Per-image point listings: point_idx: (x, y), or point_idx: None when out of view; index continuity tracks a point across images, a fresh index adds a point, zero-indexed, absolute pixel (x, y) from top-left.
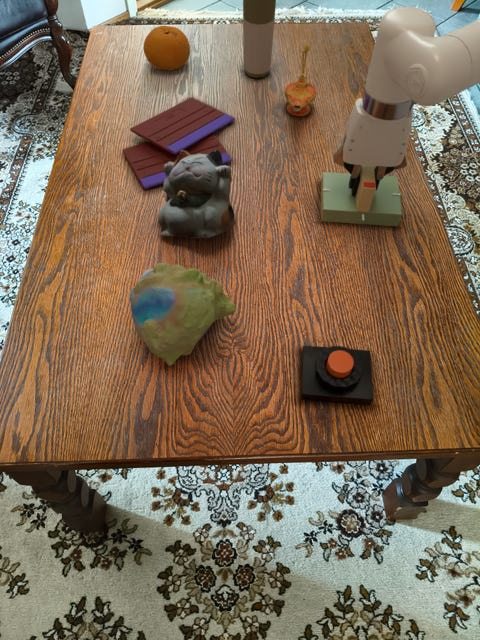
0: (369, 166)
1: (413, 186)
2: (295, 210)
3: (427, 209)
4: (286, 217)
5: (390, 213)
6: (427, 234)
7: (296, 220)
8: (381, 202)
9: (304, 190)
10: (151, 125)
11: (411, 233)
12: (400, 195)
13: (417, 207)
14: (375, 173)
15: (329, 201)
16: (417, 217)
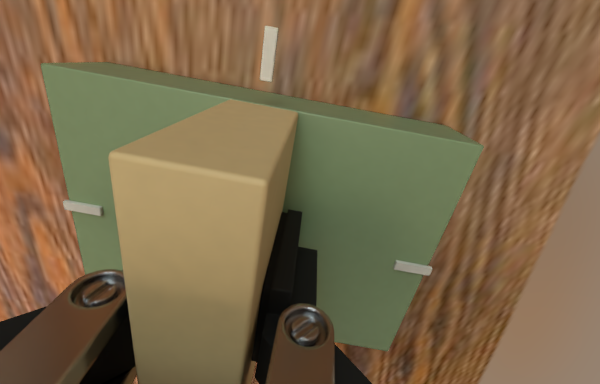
0: (201, 374)
1: (554, 118)
2: (35, 203)
3: (524, 249)
4: (15, 229)
5: (344, 342)
6: (456, 334)
7: (51, 244)
8: (326, 295)
9: (42, 100)
10: None
11: (408, 326)
12: (427, 274)
13: (491, 237)
14: (259, 378)
15: (107, 267)
16: (463, 277)
